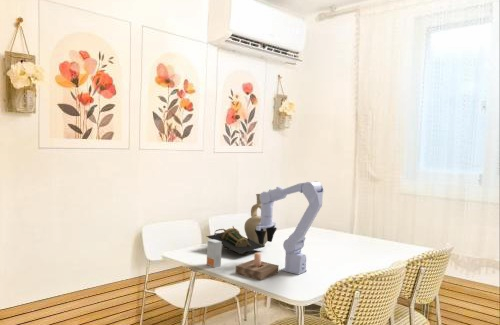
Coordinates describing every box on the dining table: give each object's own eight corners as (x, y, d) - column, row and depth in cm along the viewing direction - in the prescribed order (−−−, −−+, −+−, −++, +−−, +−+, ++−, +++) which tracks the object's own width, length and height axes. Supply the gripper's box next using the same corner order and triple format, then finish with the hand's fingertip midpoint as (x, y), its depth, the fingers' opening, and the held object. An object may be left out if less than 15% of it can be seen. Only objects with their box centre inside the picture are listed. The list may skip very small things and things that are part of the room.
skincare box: (206, 264, 191) (207, 240, 190) (213, 263, 194) (214, 239, 193) (214, 267, 186) (215, 242, 186) (221, 266, 189) (222, 241, 189)
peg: (261, 273, 181) (262, 253, 181) (257, 274, 179) (258, 254, 179) (256, 271, 183) (257, 252, 183) (252, 273, 181) (253, 253, 181)
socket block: (278, 272, 183) (278, 265, 183) (261, 280, 171) (261, 272, 171) (253, 266, 191) (253, 259, 191) (235, 273, 180) (236, 265, 179)
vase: (277, 246, 234) (279, 195, 233) (254, 249, 224) (256, 196, 223) (260, 240, 247) (262, 192, 246) (238, 242, 238) (240, 193, 237)
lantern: (235, 266, 203) (195, 241, 220) (260, 261, 221) (221, 238, 238) (243, 242, 201) (202, 218, 218) (267, 239, 220) (228, 217, 237)
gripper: (267, 213, 204) (266, 239, 205) (251, 216, 192) (250, 243, 193) (279, 214, 200) (278, 241, 201) (263, 218, 188) (262, 246, 189)
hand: (265, 242), depth 196 cm, fingers open, 7 cm apart
